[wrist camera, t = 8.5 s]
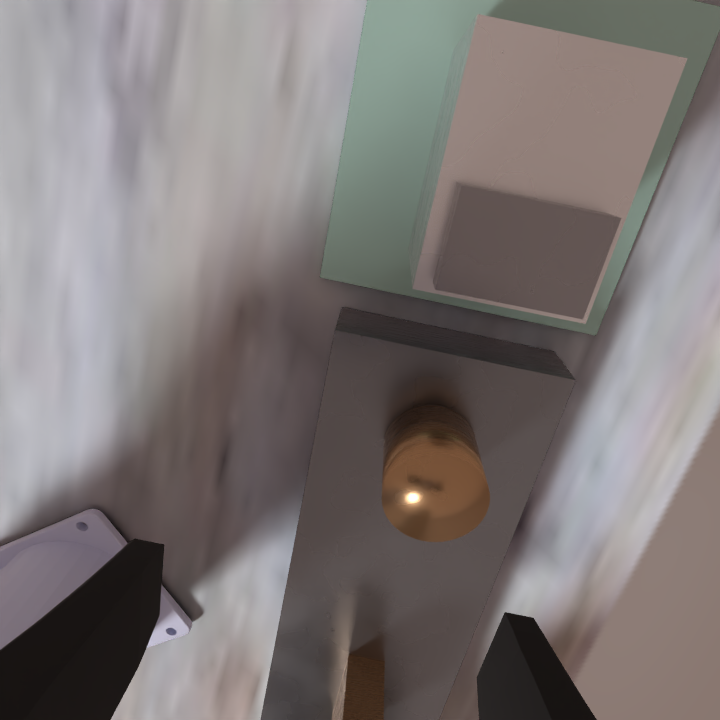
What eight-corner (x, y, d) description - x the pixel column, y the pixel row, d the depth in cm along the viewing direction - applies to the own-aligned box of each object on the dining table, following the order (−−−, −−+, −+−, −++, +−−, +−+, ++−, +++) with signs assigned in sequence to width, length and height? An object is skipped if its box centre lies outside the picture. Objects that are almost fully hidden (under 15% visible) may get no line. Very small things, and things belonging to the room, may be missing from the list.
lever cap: (537, 276, 18) (596, 334, 13) (408, 250, 18) (413, 297, 13) (601, 81, 16) (708, 53, 10) (453, 50, 16) (483, 5, 10)
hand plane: (423, 700, 27) (431, 857, 21) (271, 670, 27) (237, 821, 21) (554, 351, 19) (625, 446, 13) (342, 307, 19) (318, 383, 13)
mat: (592, 331, 19) (596, 335, 19) (321, 274, 19) (319, 277, 18) (720, 11, 15) (728, 8, 15) (379, -66, 15) (379, -71, 15)
